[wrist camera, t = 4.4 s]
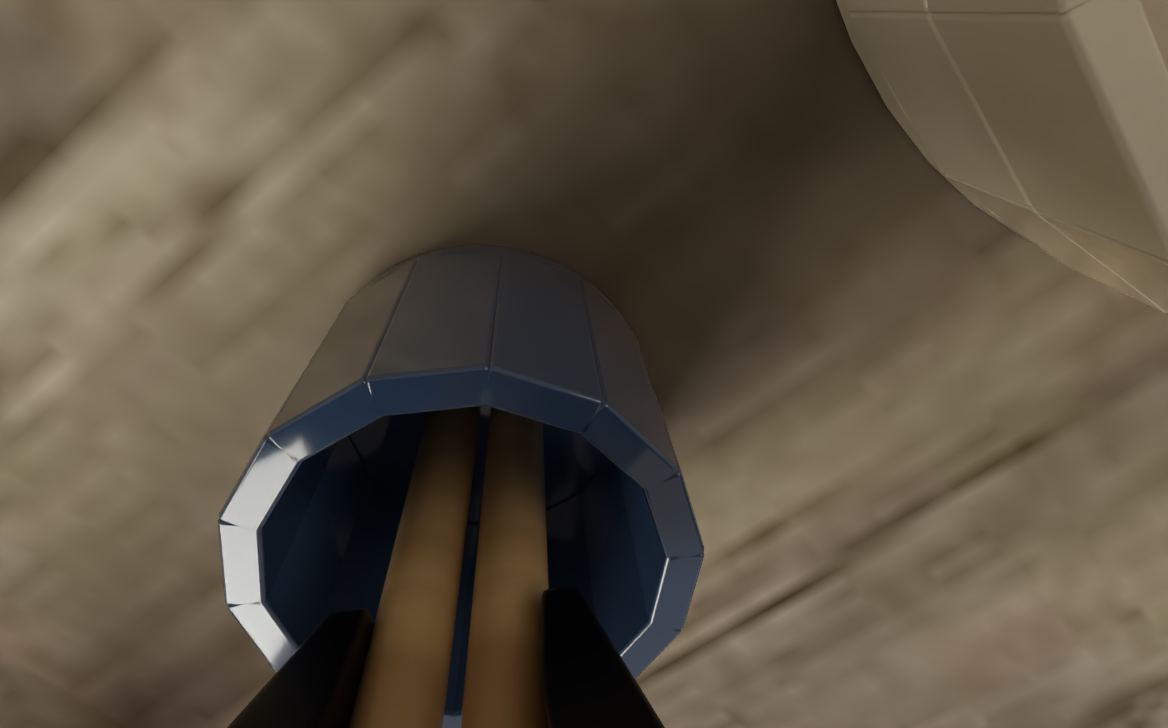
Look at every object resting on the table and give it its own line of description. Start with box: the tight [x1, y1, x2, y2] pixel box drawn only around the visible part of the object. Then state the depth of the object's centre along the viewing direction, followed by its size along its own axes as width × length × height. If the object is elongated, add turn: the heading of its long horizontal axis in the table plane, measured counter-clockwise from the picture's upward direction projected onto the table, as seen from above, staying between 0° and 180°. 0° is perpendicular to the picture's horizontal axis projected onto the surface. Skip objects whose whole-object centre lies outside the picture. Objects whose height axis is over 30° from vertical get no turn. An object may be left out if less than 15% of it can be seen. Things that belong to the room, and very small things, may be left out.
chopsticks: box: [349, 407, 549, 728], centre depth 7 cm, size 1×2×11 cm, turn 95°
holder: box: [218, 245, 704, 728], centre depth 11 cm, size 6×6×4 cm
